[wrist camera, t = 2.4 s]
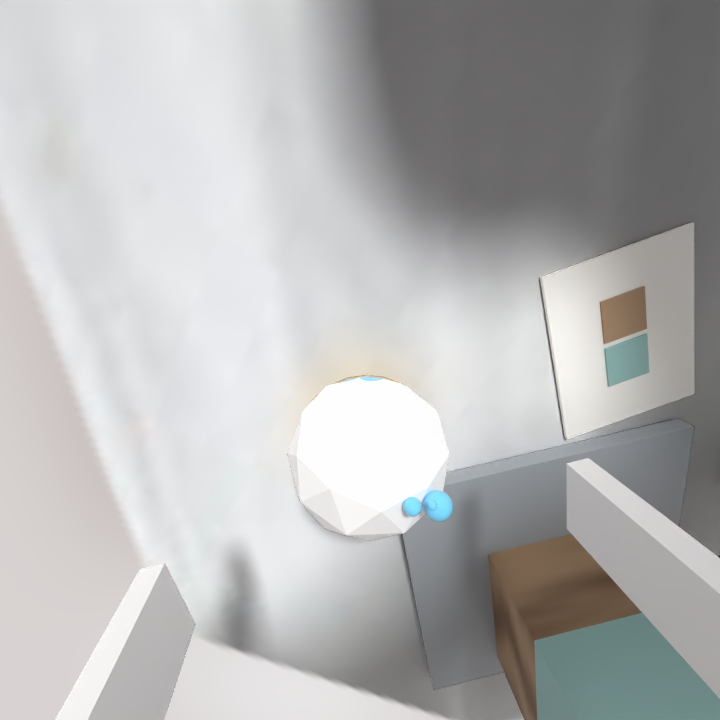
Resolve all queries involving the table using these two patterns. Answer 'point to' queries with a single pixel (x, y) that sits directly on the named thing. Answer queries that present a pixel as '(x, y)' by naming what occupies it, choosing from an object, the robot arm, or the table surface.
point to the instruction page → (623, 330)
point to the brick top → (618, 676)
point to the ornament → (370, 458)
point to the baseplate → (520, 532)
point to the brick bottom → (546, 604)
